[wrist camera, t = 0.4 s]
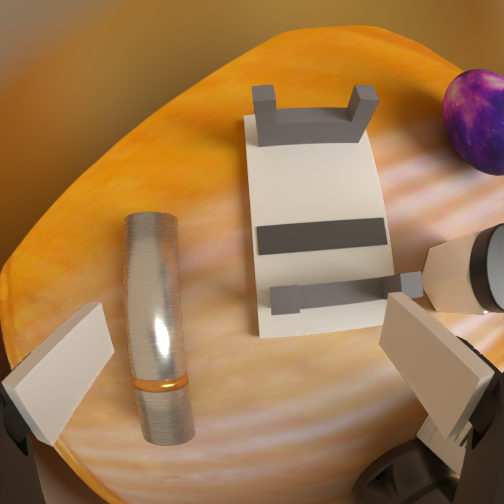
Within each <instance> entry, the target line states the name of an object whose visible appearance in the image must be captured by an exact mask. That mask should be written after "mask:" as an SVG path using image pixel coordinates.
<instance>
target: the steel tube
mask: <svg viewBox="0 0 504 504" xmlns="http://www.w3.org/2000/svg"><path fill="white" fill-rule="evenodd" d="M123 284H124V307H125V322H126V334H127V344H128V353H129V361H130V369H131V379H132V385H133V388H134V394H135V400H136V405H137V410H138V415H139V420H140V425H141V429H142V433H143V437H144V439H145V440H146V441H148V442H150V443H152V444H155V445H160V446H174V445H179V444H183V443H186V442H188V441H189V440H191V439H192V438H193V437H194V435H195V430H194V423H193V417H192V410H191V404H190V396H189V389H188V377H187V371H186V363H185V354H184V343H183V332H182V319H181V304H180V286H179V262H178V219H177V218H176V217H175V216H173V215H170V214H166V213H160V212H141V213H135V214H131V215H129V216H127V217H125V219H124V236H123Z"/></svg>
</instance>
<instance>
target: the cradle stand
mask: <svg viewBox="0 0 504 504" xmlns="http://www.w3.org/2000/svg"><path fill="white" fill-rule="evenodd" d="M252 95H253V104H254V111H255V114H254V115H244V126H245V140H246V153H247V167H248V181H249V195H250V208H251V222H252V236H253V250H254V264H255V278H256V292H257V306H258V321H259V335H260V339H265V338H279V337H291V336H302V335H312V334H321V333H330V332H338V331H345V330H352V329H359V328H366V327H372V326H378V325H383V322H384V317H385V311H386V305H387V298H388V293H394V292H403V293H404V294H405V295H407V296H408V297H409V298H410V299H411V298H417V297H423V285H422V274H421V271H417V272H410V273H402V274H396V275H395V274H394V264H393V256H392V248H391V241H390V234H389V228H388V222H387V216H386V211H385V206H384V200H383V196H382V191H381V186H380V182H379V177H378V173H377V169H376V165H375V161H374V157H373V153H372V150H371V146H370V143H369V139H368V136H367V132H366V127H367V125H368V123H369V121H370V119H371V117H372V115H373V113H374V111H375V109H376V107H377V105H378V103H379V98H378V96H377V93H376V91H375V89H374V86H368V85H355V86H354V89H353V92H352V95H351V98H350V101H349V104H348V107H347V108H289V109H276V99H275V93H274V87H273V85H262V86H252Z"/></svg>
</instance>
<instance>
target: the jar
mask: <svg viewBox="0 0 504 504" xmlns="http://www.w3.org/2000/svg"><path fill="white" fill-rule="evenodd" d="M422 285H423V289H424V291H425V293H426V294H427V296H428V298H429V300H430V301H431V303H432V305H433V306H434V308H435V310H436V311H437V312H445V313H459V314H475V315H485V314H487V313H490V312H497V313H504V223H502V224H499V225H496V226H493V227H491V228H488V229H486V230H484V231H479V232H473V233H471V234H468V235H465V236H462V237H460V238H457V239H454V240H451V241H448V242H446V243H443V244H440V245H437V246H434V247H431V248H430V249H429V252H428V256H427V259H426V263H425V266H424V270H423V273H422Z"/></svg>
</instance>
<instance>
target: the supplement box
mask: <svg viewBox="0 0 504 504" xmlns="http://www.w3.org/2000/svg"><path fill="white" fill-rule="evenodd" d="M471 426H472V424H471V423H470V422H469V421H468V422H467V424H466V425H465V427H464V428H463V430H462V431H461V432H460V433H458V434H456V435H454V436H452V437H450V438H448V439H446V440H445V439H444V437H443V435H442V434H441V432H440V431H439V429H438V428H437V426H436V425H435V423H434V422H433V420H432V419H431V417H430V416H429V414H428V416H427V418H426V419H425V421H424V423H423V425H422V426H421V428H420V430H419V431H418V433H417V434H416V436H417V437H418V438H419V439H420V440H421V441H422V442H423V443H424V444H425V445H426V446H427V447H428V448H430V449H431V450H432V451H433V452H434V453H435V454H436V455H437V456H438V457H439V458H440V459H441V460H442V461H443V462H444V463H445V464H447V465H448V466H449V467H450V468H451V469H452V470H453V471H454V472H455V473H456V474H457V475H458V476H459V477H460V475H461V470H462V466H463V461H464V456H465V451H466V447H465V446H466V445H467V440H466V441H465V443H464V444H463V445H462V447H460V446H459V445H460V443H461V441H462V440H463V438H464V437H465V435H466V434H467V432H468V431H469V429H470V428H471Z"/></svg>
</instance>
